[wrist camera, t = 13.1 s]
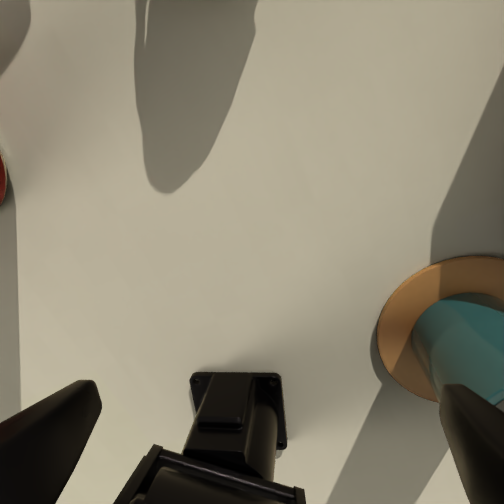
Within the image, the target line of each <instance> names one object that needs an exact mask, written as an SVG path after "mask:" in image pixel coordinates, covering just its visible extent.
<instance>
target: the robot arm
mask: <svg viewBox="0 0 504 504" xmlns="http://www.w3.org/2000/svg"><path fill="white" fill-rule="evenodd" d="M196 379H198V380H199V381H197V380H196ZM271 380H276V382H273V381H271ZM190 385H191V390H192V395H193V400H194V405H195V410H196V417H195V419H194V422H193V425H192V427H191V430H190V432H189V435H188V437H187V440H186V443H185V445H184V448H183V450H182V453H181V454H179V453H176V452H172V451H169V450H166V449H163V447H162V446H159V445H156V444H154V445H153V446H152V448H151V449H150V451H149V452H148V454H147V455H146V456H144V457H143V458H142V460H141V461H140V463H139V464H138V466H137V467H136V469H135V471H134V472H133V474H132V475H131V477H130V478H129V480H128V481H127V483H126V484H125V486H124V488H123V489H122V491H121V492H120V494H119V495H118V497H117V498H116V500H115V501H114V503H113V504H306V499H305V492H304V489H302V488H299V487H295V486H294V488H292V487H288V486H285V485H282V484H278V483H275V482H273V479H274V468H275V456H276V450H284V449H286V448H287V431H286V421H285V411H284V400H283V390H282V380H281V376H280V375H279V374H277V373H247V372H195V373H193V374H192V376H191V378H190ZM101 409H102V402H101V399H100V396H99V392H98V389H97V386H96V383H95V382H94V381H93V380H78V381H76V382H74V383H72V384H70V385H68V386H67V387H65V388H63V389H61V390H59V391H57V392H56V393H54V394H52V395H50V396H48V397H47V398H45V399H43V400H41V401H39V402H37V403H36V404H34V405H32V406H30V407H28V408H27V409H25V410H23V411H21V412H19V413H17V414H16V415H14V416H12V417H10V418H8V419H7V420H5V421H3V422H1V423H0V504H55V503H56V501H57V500H58V498H59V496H60V494H61V492H62V491H63V489H64V487H65V485H66V484H67V482H68V480H69V478H70V476H71V475H72V473H73V471H74V469H75V467H76V465H77V463H78V461H79V459H80V456H81V454H82V452H83V450H84V448H85V446H86V443H87V441H88V439H89V437H90V435H91V433H92V430H93V428H94V426H95V424H96V422H97V420H98V417H99V415H100V413H101ZM439 413H440V420H441V424H442V427H443V429H444V432H445V435H446V438H447V441H448V444H449V447H450V450H451V453H452V455H453V458H454V461H455V464H456V467H457V470H458V473H459V476H460V479H461V481H462V484H463V487H464V490H465V492H466V495H467V497H468V500H469V502H470V504H504V412H503V411H502V410H500V409H499V408H497V407H496V406H494V405H493V404H491V403H490V402H488V401H487V400H486V399H484V398H483V397H481V396H480V395H478V394H477V393H475V392H474V391H472V390H471V389H469V388H468V387H466V386H465V385H463V384H444V385H443V386H442V388H441V398H440V411H439ZM280 442H282V443H280Z"/></svg>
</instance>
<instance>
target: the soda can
mask: <svg viewBox="0 0 504 504" xmlns="http://www.w3.org/2000/svg"><path fill="white" fill-rule="evenodd" d="M6 189H7V169H6V164H5V161H4V158H3V155H2V153H1V151H0V205H1V203H2V201H3V199H4V197H5V193H6Z"/></svg>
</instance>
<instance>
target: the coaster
mask: <svg viewBox="0 0 504 504" xmlns="http://www.w3.org/2000/svg"><path fill="white" fill-rule="evenodd" d="M469 292H470V293H484V294H488V295H492V296H495V297H497V298H500V299H501V300H503V301H504V259H501V258H496V257H488V256H467V257H458V258H453V259H449V260H445V261H442V262H439V263H436V264H433V265H431V266H429V267H427V268H424V269H422V270H421V271H419V272H417V273H416V274H414V275H412V276H411V277H410V278H409V279H407V280H406V281H405V282H403V283H402V284H401V285H400V286H399V287H398V288H397V289H396V290H395V292H394V293H393V294H392V295H391V297H390V298H389V299H388V301H387V303H386V304H385V306H384V308H383V310H382V313H381V315H380V318H379V322H378V326H377V345H378V350H379V354H380V356H381V359H382V361H383V364H384V365H385V367H386V369H387V370H388V372H389V373H390V374H391V376H392V377H393V378H394V379H395V380H396V381H397V382H398V383H399V384H400V385H401V386H403V387H404V388H406V389H407V390H408V391H410V392H412V393H414V394H416V395H417V396H420V397H422V398H425V399H427V400H431V401H434V402H438V403H439V401H438V399H437V398H436V396H435V394H434V392H433V390H432V388H431V386H430V384H429V382H428V380H427V379H426V377H425V375H424V373H423V371H422V369H421V367H420V365H419V363H418V362H417V360H416V358H415V356H414V353H413V351H412V346H411V336H412V331H413V328H414V325H415V323H416V321H417V320H418V318H419V317H420V316H421V314H422V313H423V312H424V311H425V310H426V309H427V308H428V307H430V306H431V305H433V304H434V303H436V302H437V301H439V300H441V299H443V298H446V297H448V296H452V295H455V294H460V293H469Z"/></svg>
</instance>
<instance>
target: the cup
mask: <svg viewBox="0 0 504 504" xmlns="http://www.w3.org/2000/svg"><path fill="white" fill-rule="evenodd" d="M411 346H412V351H413V353H414V356H415V358H416V360H417V362H418V363H419V365H420V367H421V369H422V371H423V373H424V375H425V377H426V379H427V380H428V382H429V384H430V386H431V388H432V390H433V392H434V394H435V396H436V398H437V399H438V401H439V403H440V398H441V388H442V386H443V385H444V384H463V385H465V386H466V387H468V388H469V389H471V390H472V391H474V392H475V393H477V394H478V395H480V396H481V397H483V398H484V399H486V400H487V401H488V402H490V403H491V404H493V405H494V406H496V407H497V408H499V409H500V410H502V411H503V412H504V301H503V300H501V299H500V298H497V297H495V296H492V295H488V294H484V293H470V292H469V293H460V294H455V295H452V296H448V297H446V298H443V299H441V300H439V301H437V302H436V303H434V304H433V305H431V306H430V307H428V308H427V309H426V310H425V311H424V312H423V313H422V314H421V316H420V317H419V318H418V320H417V321H416V323H415V325H414V328H413V331H412V336H411Z"/></svg>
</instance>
